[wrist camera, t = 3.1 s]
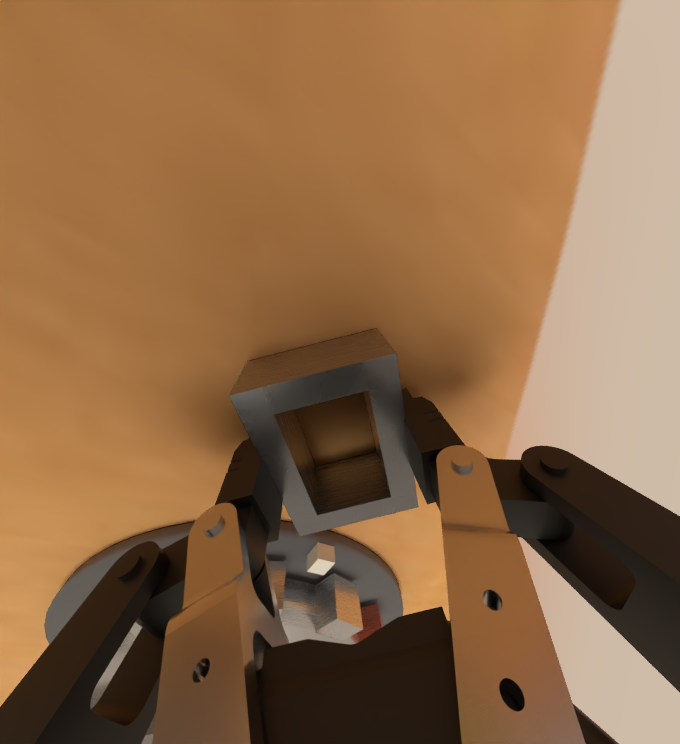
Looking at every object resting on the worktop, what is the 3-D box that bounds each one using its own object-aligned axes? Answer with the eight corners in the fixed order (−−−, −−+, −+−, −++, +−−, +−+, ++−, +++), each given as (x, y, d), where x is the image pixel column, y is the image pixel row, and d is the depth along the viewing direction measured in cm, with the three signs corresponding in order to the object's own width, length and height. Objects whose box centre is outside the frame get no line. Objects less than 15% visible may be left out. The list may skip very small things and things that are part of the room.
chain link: (247, 361, 10) (228, 395, 8) (376, 328, 10) (396, 352, 8) (301, 485, 13) (299, 536, 11) (399, 461, 13) (418, 507, 11)
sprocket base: (-45, 579, 13) (-88, 619, 12) (371, 476, 13) (379, 504, 12) (173, 705, 23) (164, 735, 22) (413, 648, 23) (420, 674, 22)
